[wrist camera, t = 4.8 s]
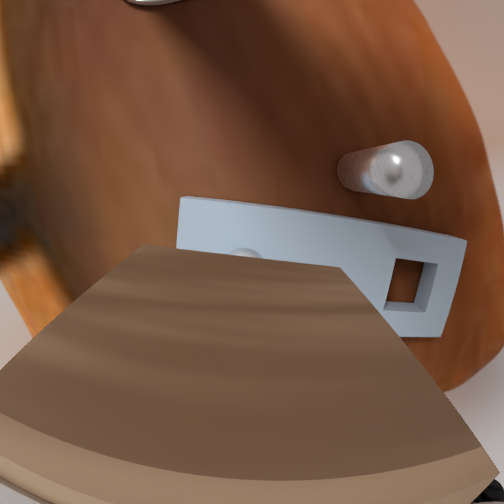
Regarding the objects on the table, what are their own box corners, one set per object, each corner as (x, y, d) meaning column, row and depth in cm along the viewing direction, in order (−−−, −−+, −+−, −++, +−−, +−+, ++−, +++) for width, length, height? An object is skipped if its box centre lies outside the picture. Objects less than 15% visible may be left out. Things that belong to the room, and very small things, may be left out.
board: (186, 195, 26) (158, 203, 17) (453, 235, 27) (507, 255, 18) (178, 305, 28) (153, 353, 20) (429, 326, 29) (471, 366, 20)
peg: (339, 148, 25) (387, 133, 15) (375, 156, 25) (436, 148, 15) (334, 187, 26) (380, 193, 16) (370, 194, 26) (429, 204, 16)
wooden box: (143, 244, 11) (-48, 422, 2) (339, 267, 11) (499, 473, 2) (147, 395, 12) (86, 571, 4) (302, 412, 13) (336, 593, 4)
